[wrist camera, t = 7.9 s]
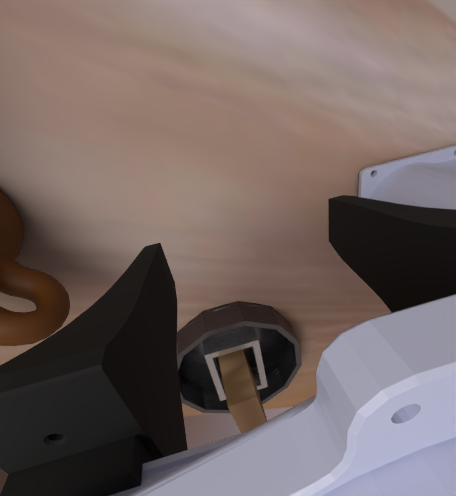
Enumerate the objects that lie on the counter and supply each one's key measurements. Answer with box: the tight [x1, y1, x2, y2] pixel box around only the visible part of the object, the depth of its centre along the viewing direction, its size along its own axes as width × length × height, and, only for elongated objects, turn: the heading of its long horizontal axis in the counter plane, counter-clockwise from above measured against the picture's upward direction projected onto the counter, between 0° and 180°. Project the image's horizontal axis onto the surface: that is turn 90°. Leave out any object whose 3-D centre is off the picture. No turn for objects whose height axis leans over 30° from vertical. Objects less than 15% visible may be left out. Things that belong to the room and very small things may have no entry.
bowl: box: [177, 301, 301, 413], centre depth 28 cm, size 13×13×3 cm
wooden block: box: [218, 349, 267, 433], centre depth 26 cm, size 2×4×6 cm, turn 16°
